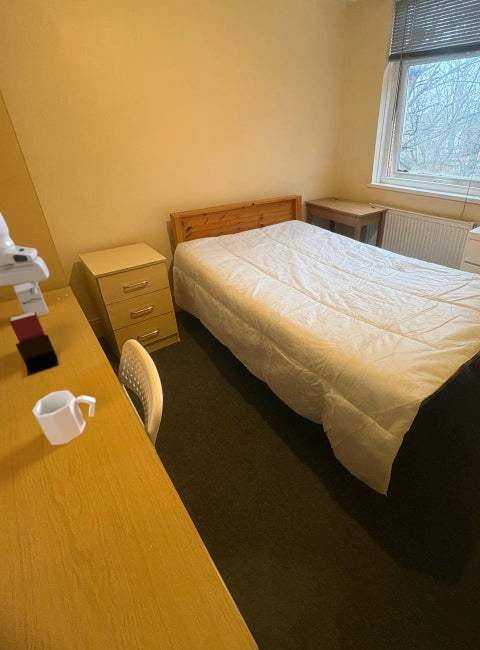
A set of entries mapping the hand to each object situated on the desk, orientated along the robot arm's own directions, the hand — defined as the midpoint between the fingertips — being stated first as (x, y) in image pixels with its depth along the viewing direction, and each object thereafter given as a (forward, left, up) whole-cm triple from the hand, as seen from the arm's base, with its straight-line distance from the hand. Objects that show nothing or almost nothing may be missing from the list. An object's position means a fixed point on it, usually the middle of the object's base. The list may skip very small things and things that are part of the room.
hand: (16, 296), depth 102 cm
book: (+2, -6, -12) cm, 14 cm away
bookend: (+3, -12, -20) cm, 24 cm away
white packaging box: (-6, +26, -20) cm, 33 cm away
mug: (+17, -43, -20) cm, 51 cm away
